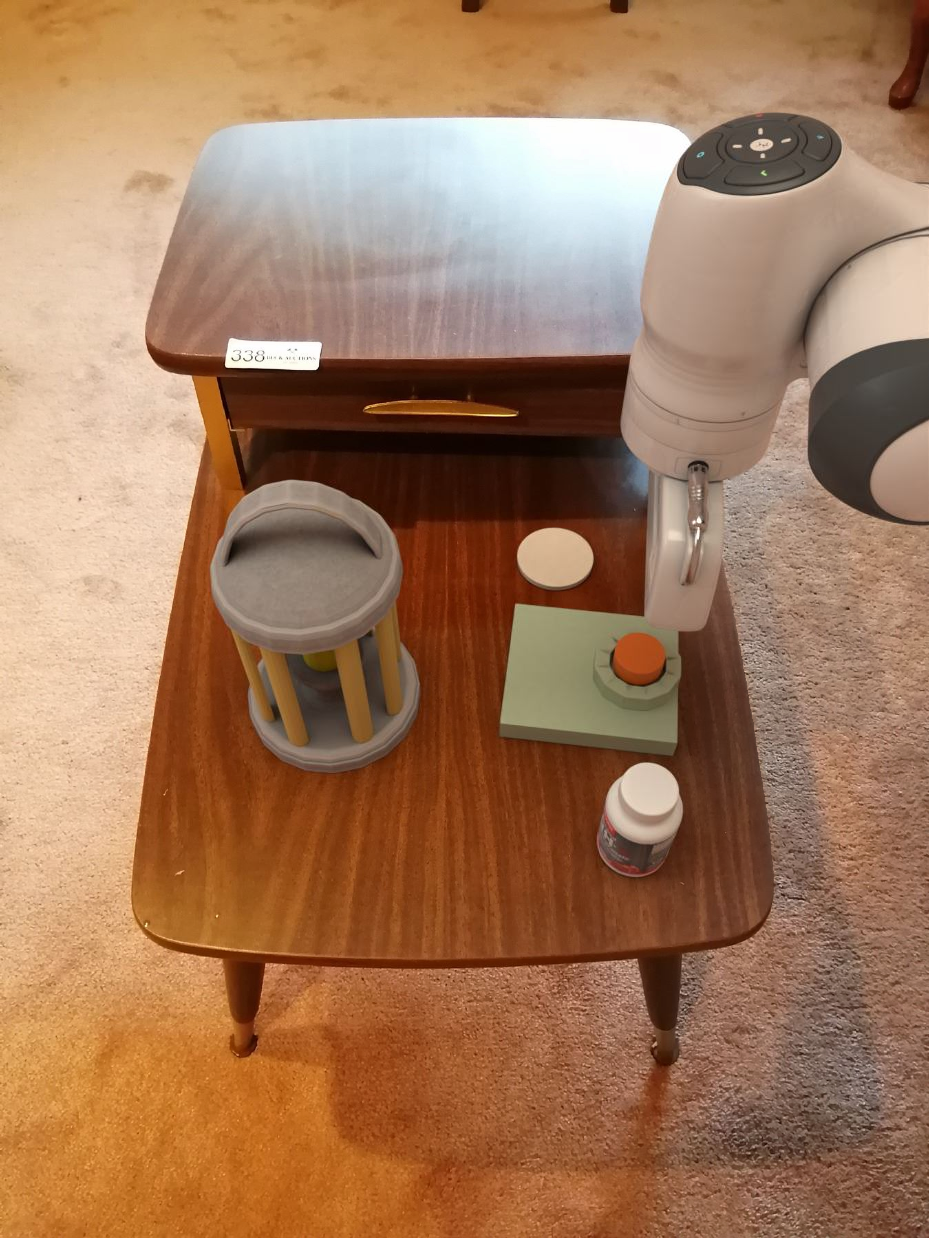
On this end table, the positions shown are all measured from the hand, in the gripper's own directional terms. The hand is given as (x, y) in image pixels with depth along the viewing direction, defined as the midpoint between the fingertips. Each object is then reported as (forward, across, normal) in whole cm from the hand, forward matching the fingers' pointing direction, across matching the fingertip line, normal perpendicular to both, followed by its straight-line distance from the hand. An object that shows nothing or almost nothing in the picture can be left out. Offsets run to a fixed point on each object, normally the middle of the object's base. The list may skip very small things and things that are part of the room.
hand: (663, 558), depth 69 cm
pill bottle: (+17, -14, 0) cm, 22 cm away
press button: (+14, 0, 0) cm, 14 cm away
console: (+17, 0, +4) cm, 17 cm away
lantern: (+17, -4, +25) cm, 30 cm away
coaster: (+17, +13, +8) cm, 23 cm away
